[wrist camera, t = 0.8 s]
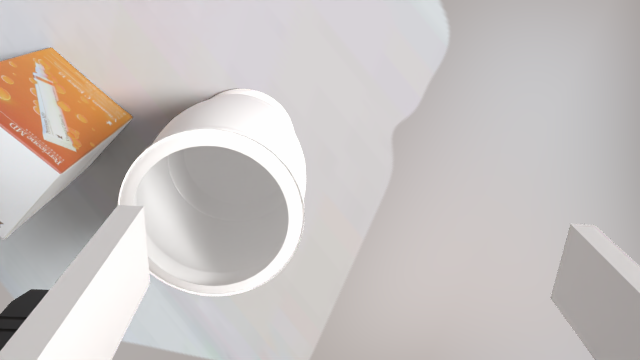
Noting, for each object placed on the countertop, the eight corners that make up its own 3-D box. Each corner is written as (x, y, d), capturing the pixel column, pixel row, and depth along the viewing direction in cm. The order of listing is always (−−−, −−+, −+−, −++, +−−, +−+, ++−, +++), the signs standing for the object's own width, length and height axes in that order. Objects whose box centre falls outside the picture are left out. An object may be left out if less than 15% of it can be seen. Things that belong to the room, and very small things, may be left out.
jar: (240, 46, 40) (202, 87, 26) (333, 137, 43) (343, 218, 29) (153, 138, 43) (76, 220, 29) (246, 218, 45) (217, 328, 32)
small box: (135, 116, 42) (64, 176, 30) (88, 168, 43) (2, 244, 31) (51, 43, 40) (-64, 75, 28) (4, 100, 41) (-123, 155, 29)
